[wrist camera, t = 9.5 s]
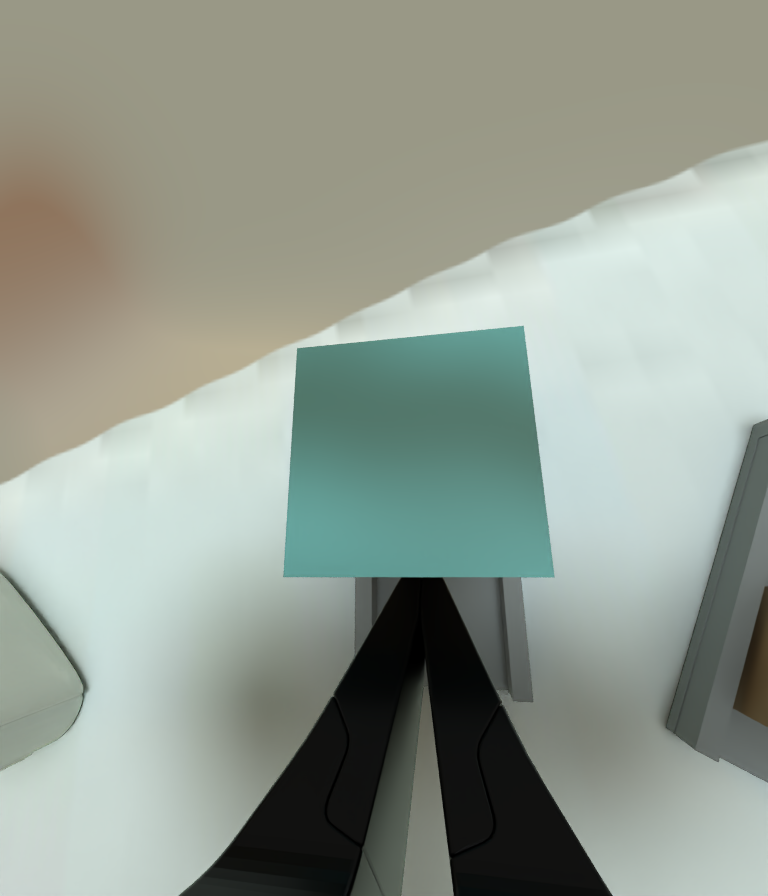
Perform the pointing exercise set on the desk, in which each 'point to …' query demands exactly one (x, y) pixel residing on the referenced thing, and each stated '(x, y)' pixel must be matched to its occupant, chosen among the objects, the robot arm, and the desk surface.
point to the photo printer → (31, 682)
